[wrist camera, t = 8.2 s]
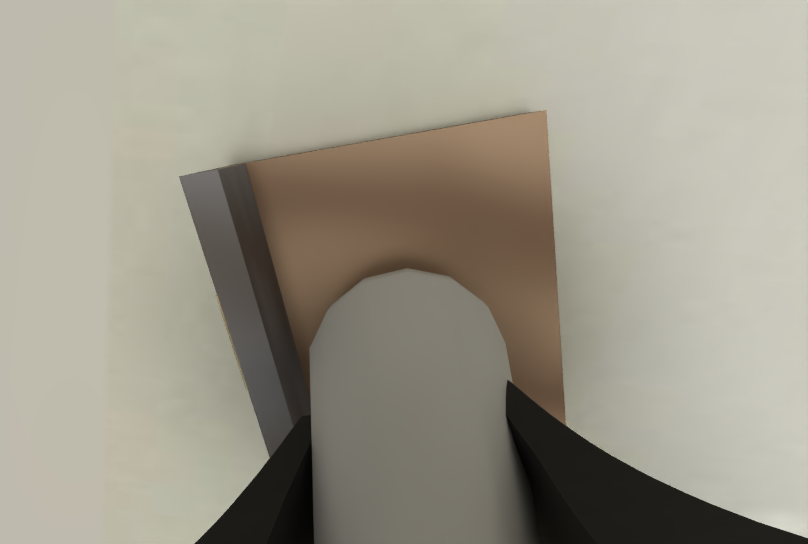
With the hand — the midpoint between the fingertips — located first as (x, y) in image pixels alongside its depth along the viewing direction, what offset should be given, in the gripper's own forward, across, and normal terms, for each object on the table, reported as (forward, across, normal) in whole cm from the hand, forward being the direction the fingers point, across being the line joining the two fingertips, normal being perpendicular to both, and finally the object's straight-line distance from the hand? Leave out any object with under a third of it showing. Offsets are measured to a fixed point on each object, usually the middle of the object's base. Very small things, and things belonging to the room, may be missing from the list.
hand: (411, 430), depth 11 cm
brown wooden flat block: (+6, 0, +3) cm, 7 cm away
